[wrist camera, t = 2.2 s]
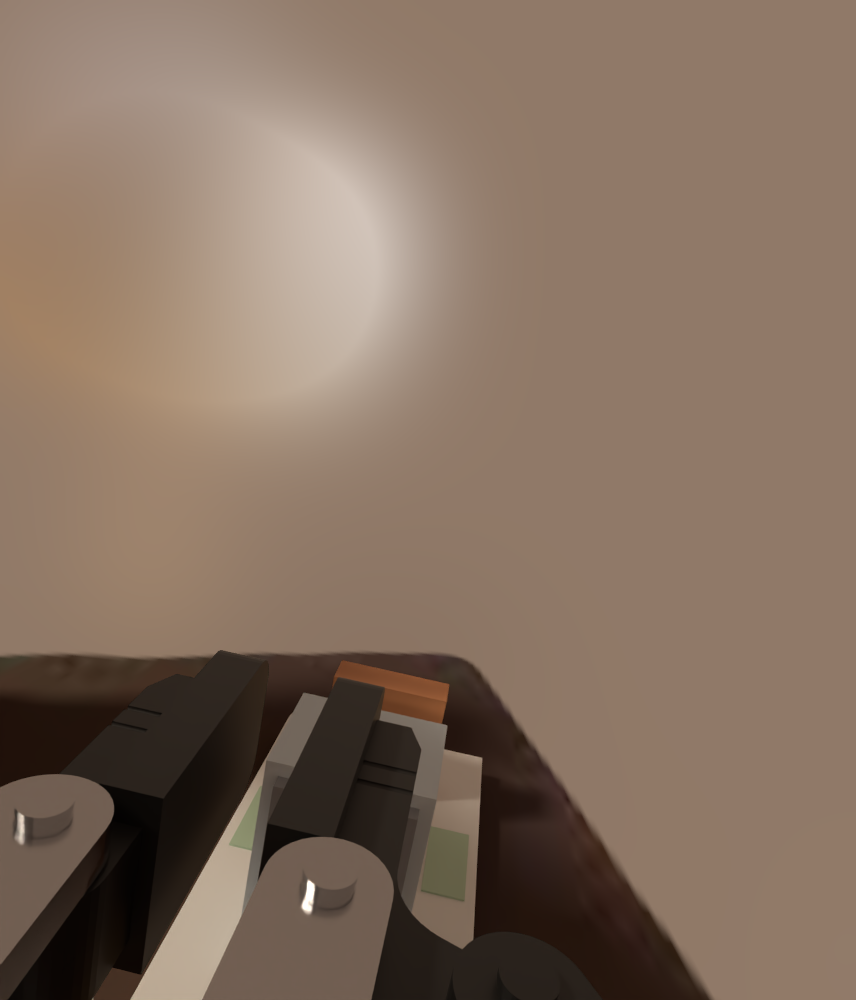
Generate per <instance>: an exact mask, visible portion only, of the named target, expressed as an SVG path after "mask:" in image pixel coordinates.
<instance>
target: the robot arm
mask: <svg viewBox="0 0 856 1000" xmlns="http://www.w3.org/2000/svg"><path fill="white" fill-rule="evenodd" d="M268 676H269V663H268V661H267V660H262V659H258V658H254V657H249V656H245V655H240V654H236V653H231V652H227V651H223V650H220V651H218V652H217V653H216V654H215V655H214V656H213V658H212V659H211V660H210V661H209V662H208V663H207V664H206V665H205V666H204V668H203V669H202V670H201V671H200V672H199V673H198V674H197V675H196V676H195V678H193V677H188V676H184V675H179V674H175V675H173V676H171V677H168V678H166V679H164V680H162V681H159V682H157V683H155V684H152V685H150V686H148V687H146V688H145V689H144V690H143V691H142V692H141V693H140V694H139V695H138V696H137V697H136V698H135V699H134V700H133V701H132V702H131V703H130V704H129V705H128V709H127V710H126V709H124V710H123V711H122V712H121V713H120V714H119V715H118V716H117V717H116V718H115V719H114V720H113V722H112V725H111V726H110V725H108V726H107V727H106V728H105V729H104V730H103V731H102V732H101V733H100V734H99V735H98V736H97V737H96V738H95V739H94V740H93V741H92V742H91V743H90V744H89V745H88V746H87V747H86V748H85V749H84V750H83V751H82V752H81V753H80V754H79V755H78V756H77V757H76V758H75V759H74V760H73V761H72V762H71V763H70V764H69V765H68V766H67V767H66V768H65V769H64V770H63V771H62V772H61V773H60V774H50V775H39V776H33V777H28V778H24V779H20V780H17V781H14V782H11V783H9V784H7V785H4V786H2V787H0V1000H93V998H94V996H95V994H96V993H97V991H98V989H99V988H100V986H101V985H102V983H103V981H104V980H105V978H106V976H107V975H108V973H109V972H110V970H111V968H112V967H113V968H117V969H121V970H125V971H129V972H133V973H137V974H142V972H143V971H144V969H145V967H146V965H147V963H148V962H149V960H150V958H151V956H152V955H153V953H154V951H155V949H156V948H157V946H158V944H159V942H160V940H161V939H162V937H163V935H164V933H165V932H166V930H167V928H168V926H169V925H170V923H171V921H172V919H173V918H174V916H175V914H176V912H177V910H178V909H179V907H180V905H181V903H182V902H183V900H184V898H185V896H186V895H187V893H188V891H189V889H190V887H191V886H192V884H193V882H194V880H195V879H196V877H197V875H198V873H199V872H200V870H201V868H202V866H203V864H204V863H205V861H206V859H207V857H208V856H209V854H210V852H211V850H212V849H213V847H214V845H215V843H216V842H217V840H218V838H219V836H220V834H221V833H222V831H223V829H224V827H225V826H226V824H227V822H228V820H229V819H230V817H231V815H232V813H233V811H234V810H235V808H236V806H237V804H238V803H239V801H240V799H241V797H242V795H243V794H244V791H245V789H246V787H247V784H248V782H249V779H250V776H251V773H252V769H253V766H254V762H255V757H256V752H257V746H258V740H259V734H260V727H261V721H262V715H263V708H264V702H265V696H266V689H267V683H268ZM384 693H385V687H382V686H377V685H373V684H368V683H364V682H360V681H355V680H351V679H346V678H342V677H338V678H337V680H336V682H335V684H334V686H333V688H332V690H331V692H330V695H329V697H328V699H327V701H326V703H325V705H324V707H323V709H322V711H321V713H320V715H319V717H318V719H317V721H316V724H315V726H314V728H313V730H312V732H311V734H310V736H309V738H308V740H307V742H306V744H305V746H304V748H303V750H302V753H301V755H300V757H299V759H298V761H297V763H296V765H295V767H294V769H293V771H292V773H291V775H290V777H289V779H288V782H287V784H286V786H285V788H284V790H283V792H282V794H281V796H280V798H279V800H278V802H277V804H276V806H275V808H274V811H273V813H272V815H271V817H270V819H269V821H268V823H267V828H266V834H265V840H264V847H263V853H262V859H261V865H260V871H259V877H258V882H257V884H256V886H255V888H254V890H253V893H252V895H251V897H250V899H249V901H248V903H247V905H246V907H245V910H244V912H243V914H242V916H241V918H240V920H239V922H238V924H237V927H236V929H235V931H234V933H233V935H232V937H231V939H230V941H229V944H228V946H227V948H226V950H225V952H224V954H223V956H222V958H221V961H220V963H219V965H218V967H217V969H216V971H215V973H214V975H213V977H212V980H211V982H210V984H209V986H208V988H207V990H206V992H205V994H204V997H203V999H202V1000H603V999H602V998H601V997H600V995H599V994H598V993H597V992H596V990H595V989H594V988H593V986H592V985H591V984H590V982H589V981H588V980H587V978H586V977H585V976H584V974H583V973H582V972H581V971H580V970H579V968H578V967H577V966H576V965H575V964H574V963H573V962H572V961H571V960H570V959H569V958H568V957H567V956H566V955H564V954H563V953H562V952H560V951H559V950H557V949H556V948H555V947H553V946H551V945H549V944H547V943H546V942H544V941H542V940H539V939H537V938H534V937H532V936H528V935H524V934H521V933H514V932H494V933H489V934H485V935H482V936H480V937H477V938H476V939H474V940H472V941H471V942H469V943H468V944H467V945H466V946H465V947H464V948H463V949H461V948H459V947H457V946H455V945H454V944H452V943H450V942H448V941H446V940H445V939H443V938H441V937H439V936H438V935H436V934H435V933H433V932H431V931H430V930H429V929H428V928H426V927H425V926H424V925H423V924H421V923H420V922H419V921H418V920H417V919H416V917H415V916H414V915H413V914H412V913H411V912H410V910H409V909H408V907H407V906H406V904H405V902H404V901H403V899H402V897H401V894H400V891H399V887H398V880H397V875H398V867H399V862H400V857H401V852H402V847H403V841H404V836H405V831H406V826H407V821H408V816H409V811H410V806H411V801H412V795H413V791H414V786H415V780H416V775H417V770H418V765H419V760H420V755H421V748H420V745H419V743H418V741H417V739H416V737H415V734H414V732H413V730H412V728H411V727H407V726H402V725H398V724H394V723H389V722H385V721H381V720H380V715H381V710H382V704H383V699H384Z"/></svg>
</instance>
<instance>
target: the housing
mask: <svg viewBox="0 0 856 1000" xmlns="http://www.w3.org/2000/svg"><path fill="white" fill-rule="evenodd" d="M291 715H292V714H290V716H289V718H290V717H291ZM289 718H288V719H287V721H286V723H285V725H284V727H285V726H286V724H287V722H288V720H289ZM284 727H283V728H282V730H281V732H280V734H279V736H280V735H281V733H282V731H283V729H284ZM279 736H278V737H277V739H276V741H275V743H274V744H273V746H272V748H271V750H270V752H269V753H268V755H267V757H266V759H265V761H264V762H263V764H262V766H261V768H260V769H259V771H258V773H257V775H256V777H255V778H254V780H253V782H252V784H251V786H250V787H249V789H248V791H247V793H246V794H245V796H244V798H243V800H242V802H241V803H240V805H239V807H238V809H237V811H236V812H235V814H234V816H233V818H232V819H231V821H230V823H229V825H228V827H227V828H226V830H225V832H224V834H223V836H222V837H221V839H220V841H219V843H218V844H217V846H216V848H215V850H214V852H213V853H212V855H211V857H210V859H209V861H208V862H207V864H206V866H205V868H204V869H203V871H202V873H201V875H200V877H199V878H198V880H197V882H196V884H195V886H194V887H193V889H192V891H191V893H190V894H189V896H188V898H187V900H186V902H185V903H184V905H183V907H182V909H181V911H180V912H179V914H178V916H177V918H176V919H175V921H174V923H173V925H172V927H171V928H170V930H169V932H168V934H167V936H166V937H165V939H164V941H163V943H162V944H161V946H160V948H159V950H158V952H157V953H156V955H155V957H154V959H153V961H152V962H151V964H150V966H149V968H148V969H147V971H146V973H145V975H144V977H143V978H142V980H141V982H140V984H139V986H138V987H137V989H136V991H135V993H134V994H133V996H132V998H131V1000H202V999H203V997H204V994H205V992H206V990H207V988H208V986H209V984H210V982H211V980H212V977H213V975H214V973H215V971H216V969H217V967H218V965H219V963H220V961H221V958H222V956H223V954H224V952H225V950H226V948H227V946H228V944H229V941H230V939H231V937H232V935H233V933H234V931H235V929H236V927H237V924H238V922H239V920H240V918H241V914H242V908H243V902H244V896H245V890H246V883H247V877H248V871H249V865H250V858H251V852H252V846H253V840H254V834H255V827H256V821H257V815H258V809H259V802H260V796H261V790H262V784H263V778H264V771H265V765H266V760H267V758H268V756H269V754H270V753H271V751H272V749H273V747H274V745H275V744H276V742H277V740H278V738H279ZM481 773H482V758H480V757H476V756H471V755H467V754H463V753H458V752H454V751H450V750H445V749H444V753H443V760H442V767H441V774H440V781H439V788H438V795H437V801H436V806H435V810H434V815H433V819H432V823H431V828H430V832H429V837H428V841H427V846H426V850H425V855H424V859H423V864H422V868H421V873H420V877H419V882H418V886H417V891H416V895H415V900H414V904H413V908H412V914H413V915H414V916H415V917H416V919H417V920H418V921H419V922H420V923H421V924H423V925H424V926H425V927H426V928H428V929H429V930H430V931H431V932H433V933H435V934H436V935H438V936H439V937H441V938H443V939H445V940H446V941H448V942H450V943H452V944H454V945H455V946H457V947H459V948H461V949H463V948H464V947H465V946H466V945H467V944H468V943H469V942H471V941H472V940H473V935H474V915H475V895H476V874H477V854H478V834H479V814H480V793H481Z"/></svg>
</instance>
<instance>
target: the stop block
mask: <svg viewBox="0 0 856 1000" xmlns="http://www.w3.org/2000/svg"><path fill="white" fill-rule="evenodd" d="M338 677H342V678H346V679H351V680H355V681H360V682H364V683H368V684H373V685H377V686H382V687H385V693H384V699H383V704H382V711H387V712H391V713H396V714H400V715H404V716H409V717H413V718H417V719H422V720H426V721H431V722H435V723H439V724H442V721H443V716H444V711H445V707H446V702H447V696H448V690H449V684H445V683H441V682H437V681H432V680H428V679H423V678H419V677H414V676H410V675H405V674H401V673H397V672H392V671H388V670H383V669H379V668H374V667H370V666H365V665H361V664H357V663H352V662H348V661H343V660H342V662H341V664H340V666H339V668H338V670H337V672H336V674H335V676H334V681H333V686H334V684H335V682H336V680H337V678H338ZM333 686H332V688H333Z"/></svg>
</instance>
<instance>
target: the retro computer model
mask: <svg viewBox="0 0 856 1000" xmlns="http://www.w3.org/2000/svg"><path fill="white" fill-rule="evenodd" d="M327 699H328V698H325V697H321V696H317V695H312V694H308V693H303V695H302V697H301V699H300V700H299V702H298V704H297V706H296V708H295V709H294V711H293V713H292V715H291V717H290V718H289V720H288V722H287V724H286V726H285V727H284V729H283V731H282V733H281V735H280V736H279V738H278V740H277V742H276V744H275V745H274V747H273V749H272V751H271V753H270V754H269V756H268V758H267V760H266V765H265V771H264V778H263V784H262V790H261V796H260V802H259V809H258V815H257V821H256V827H255V834H254V840H253V846H252V852H251V858H250V865H249V871H248V877H247V883H246V890H245V896H244V902H243V908H242V914H243V912H244V910H245V907H246V905H247V903H248V901H249V899H250V897H251V895H252V893H253V890H254V888H255V886H256V884H257V882H258V877H259V871H260V865H261V859H262V853H263V847H264V840H265V834H266V828H267V823H268V821H269V819H270V817H271V815H272V813H273V811H274V808H275V806H276V804H277V802H278V800H279V798H280V796H281V794H282V792H283V790H284V788H285V786H286V784H287V782H288V779H289V777H290V775H291V773H292V771H293V769H294V767H295V765H296V763H297V761H298V759H299V757H300V755H301V753H302V750H303V748H304V746H305V744H306V742H307V740H308V738H309V736H310V734H311V732H312V730H313V728H314V726H315V724H316V721H317V719H318V717H319V715H320V713H321V711H322V709H323V707H324V705H325V703H326V701H327ZM380 720H381V721H385V722H389V723H394V724H398V725H402V726H407V727H411V728H412V730H413V732H414V734H415V737H416V739H417V741H418V743H419V745H420V748H421V755H420V760H419V765H418V770H417V775H416V780H415V786H414V791H413V795H412V801H411V806H410V811H409V816H408V821H407V826H406V831H405V836H404V841H403V847H402V852H401V857H400V862H399V867H398V875H397V880H398V887H399V891H400V894H401V897H402V899H403V901H404V902H405V904H406V906H407V907H408V909H409V910H410V912H411V913H412V908H413V904H414V900H415V895H416V891H417V886H418V882H419V877H420V873H421V868H422V864H423V859H424V855H425V850H426V846H427V841H428V837H429V832H430V828H431V823H432V819H433V815H434V810H435V806H436V801H437V795H438V788H439V781H440V774H441V767H442V760H443V753H444V746H445V739H446V732H447V725H444V724H439V723H435V722H431V721H426V720H422V719H417V718H413V717H409V716H404V715H400V714H396V713H391V712H387V711H382V710H381V715H380ZM242 914H241V916H242Z"/></svg>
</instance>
